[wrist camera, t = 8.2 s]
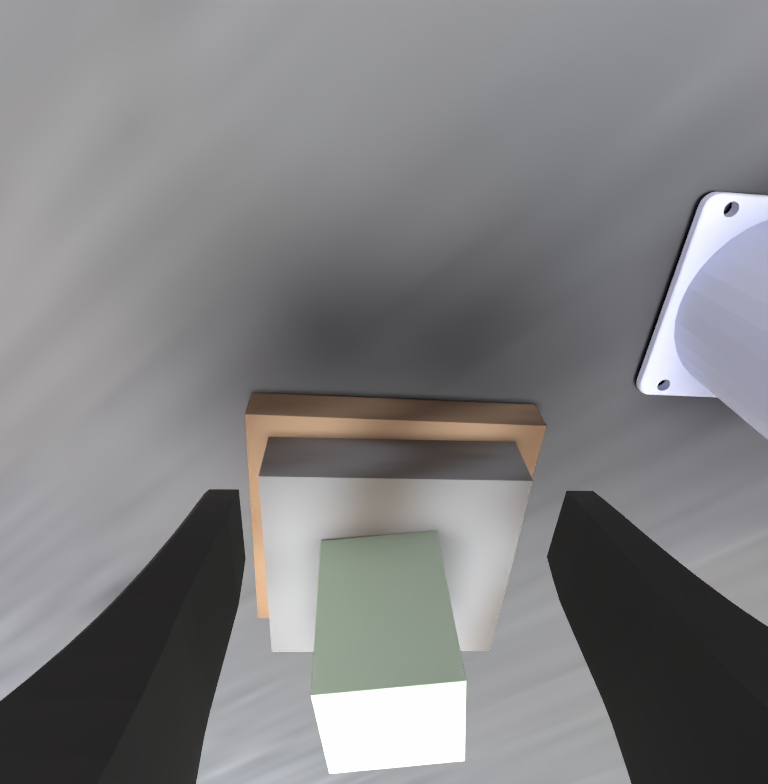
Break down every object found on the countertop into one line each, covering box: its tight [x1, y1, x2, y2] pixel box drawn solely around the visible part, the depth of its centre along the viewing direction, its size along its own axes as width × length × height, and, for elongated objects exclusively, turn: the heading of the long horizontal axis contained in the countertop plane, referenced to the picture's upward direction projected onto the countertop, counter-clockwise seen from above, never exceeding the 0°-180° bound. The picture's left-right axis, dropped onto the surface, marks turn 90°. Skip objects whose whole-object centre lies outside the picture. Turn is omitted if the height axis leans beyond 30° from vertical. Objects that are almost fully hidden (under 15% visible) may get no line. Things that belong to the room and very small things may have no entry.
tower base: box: [245, 393, 547, 618], centre depth 25 cm, size 12×12×2 cm
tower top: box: [258, 437, 533, 652], centre depth 23 cm, size 10×10×2 cm
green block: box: [311, 530, 466, 774], centre depth 19 cm, size 4×4×6 cm
